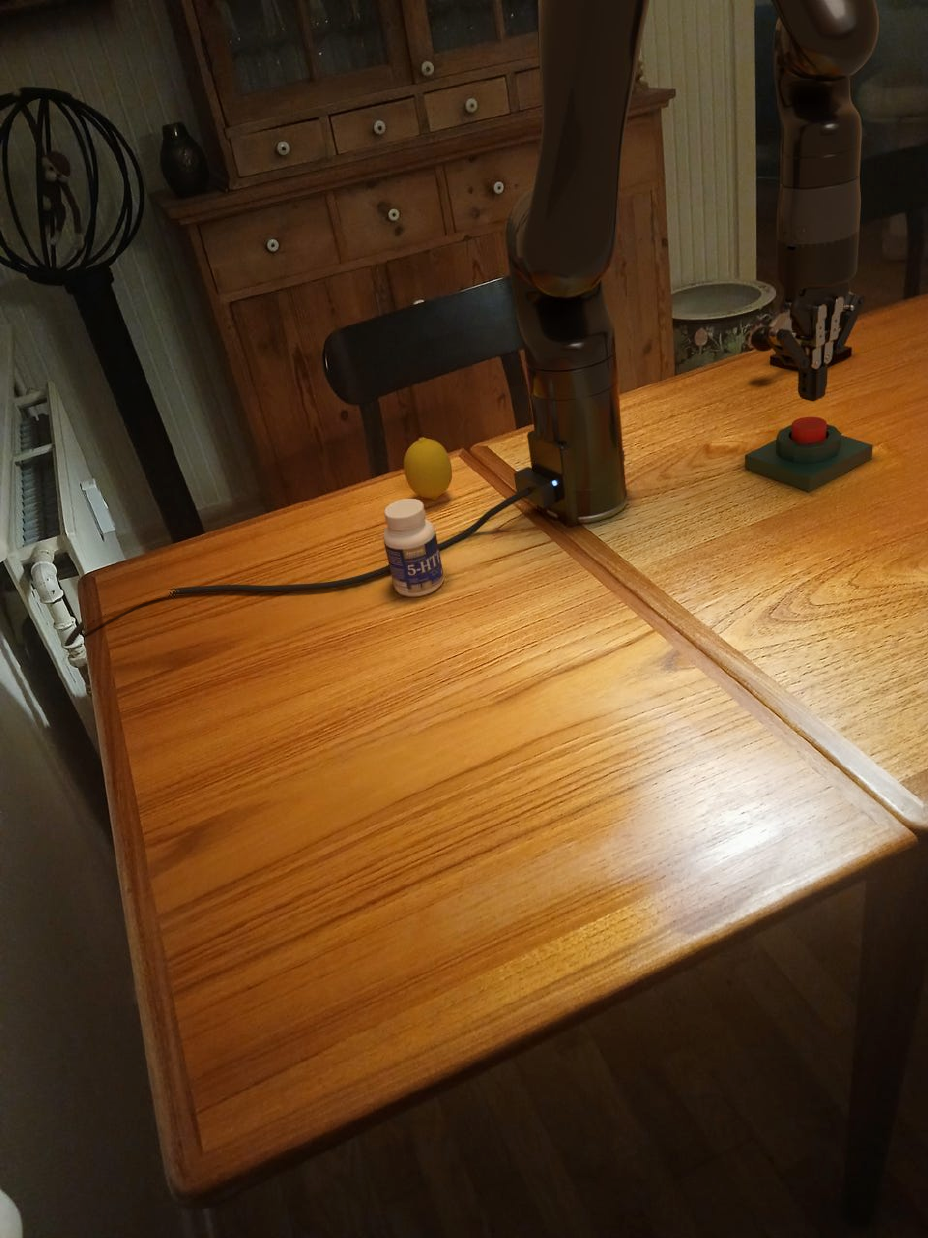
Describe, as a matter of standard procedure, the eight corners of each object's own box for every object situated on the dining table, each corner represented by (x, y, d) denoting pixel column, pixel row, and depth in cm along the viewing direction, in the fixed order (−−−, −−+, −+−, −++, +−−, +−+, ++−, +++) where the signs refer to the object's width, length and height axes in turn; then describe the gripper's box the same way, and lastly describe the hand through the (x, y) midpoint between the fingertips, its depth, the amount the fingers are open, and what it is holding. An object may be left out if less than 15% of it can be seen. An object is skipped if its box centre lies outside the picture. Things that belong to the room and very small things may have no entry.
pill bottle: (415, 603, 95) (398, 526, 90) (384, 587, 99) (366, 512, 94) (455, 579, 98) (440, 503, 93) (423, 564, 101) (407, 490, 96)
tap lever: (768, 359, 123) (761, 340, 121) (750, 354, 125) (742, 335, 123) (833, 290, 124) (827, 270, 122) (813, 286, 127) (807, 267, 124)
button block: (809, 492, 101) (810, 462, 99) (744, 468, 107) (744, 439, 105) (871, 458, 104) (874, 429, 102) (805, 437, 111) (806, 409, 109)
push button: (810, 448, 102) (811, 433, 101) (783, 439, 105) (784, 424, 104) (833, 436, 103) (834, 421, 102) (806, 428, 106) (807, 413, 105)
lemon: (435, 485, 117) (423, 424, 112) (466, 495, 113) (455, 433, 109) (402, 504, 114) (388, 443, 109) (433, 515, 110) (420, 452, 106)
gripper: (832, 208, 97) (825, 370, 107) (739, 244, 92) (741, 411, 102) (896, 213, 92) (883, 384, 101) (801, 252, 87) (797, 428, 96)
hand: (811, 397), depth 102 cm, fingers closed
